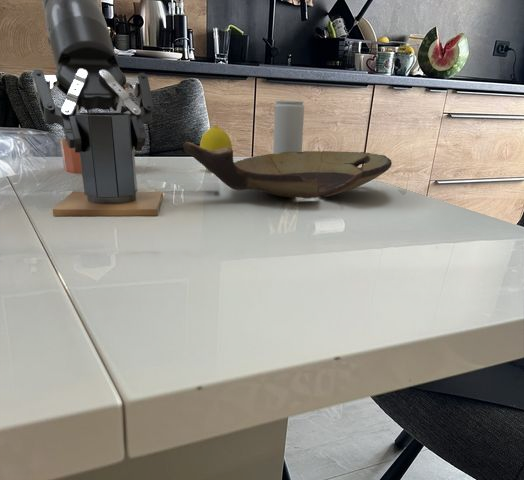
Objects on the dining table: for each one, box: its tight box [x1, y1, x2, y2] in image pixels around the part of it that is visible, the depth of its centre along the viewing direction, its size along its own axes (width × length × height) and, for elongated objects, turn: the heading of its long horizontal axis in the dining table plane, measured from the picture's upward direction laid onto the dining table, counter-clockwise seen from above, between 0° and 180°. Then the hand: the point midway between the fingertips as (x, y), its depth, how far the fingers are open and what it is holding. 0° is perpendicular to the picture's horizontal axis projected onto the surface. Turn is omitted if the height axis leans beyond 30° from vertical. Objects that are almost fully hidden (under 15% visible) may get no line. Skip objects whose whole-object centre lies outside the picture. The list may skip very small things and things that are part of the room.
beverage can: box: [272, 100, 305, 154], centre depth 91 cm, size 5×5×12 cm
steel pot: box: [75, 111, 138, 204], centre depth 67 cm, size 6×6×10 cm
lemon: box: [199, 125, 233, 169], centre depth 93 cm, size 6×6×8 cm
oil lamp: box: [182, 141, 393, 200], centre depth 78 cm, size 22×30×8 cm
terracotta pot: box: [59, 138, 82, 175], centre depth 92 cm, size 11×11×6 cm
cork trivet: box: [52, 190, 164, 217], centre depth 70 cm, size 12×12×1 cm
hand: (109, 147), depth 65 cm, fingers closed on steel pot, 6 cm apart
